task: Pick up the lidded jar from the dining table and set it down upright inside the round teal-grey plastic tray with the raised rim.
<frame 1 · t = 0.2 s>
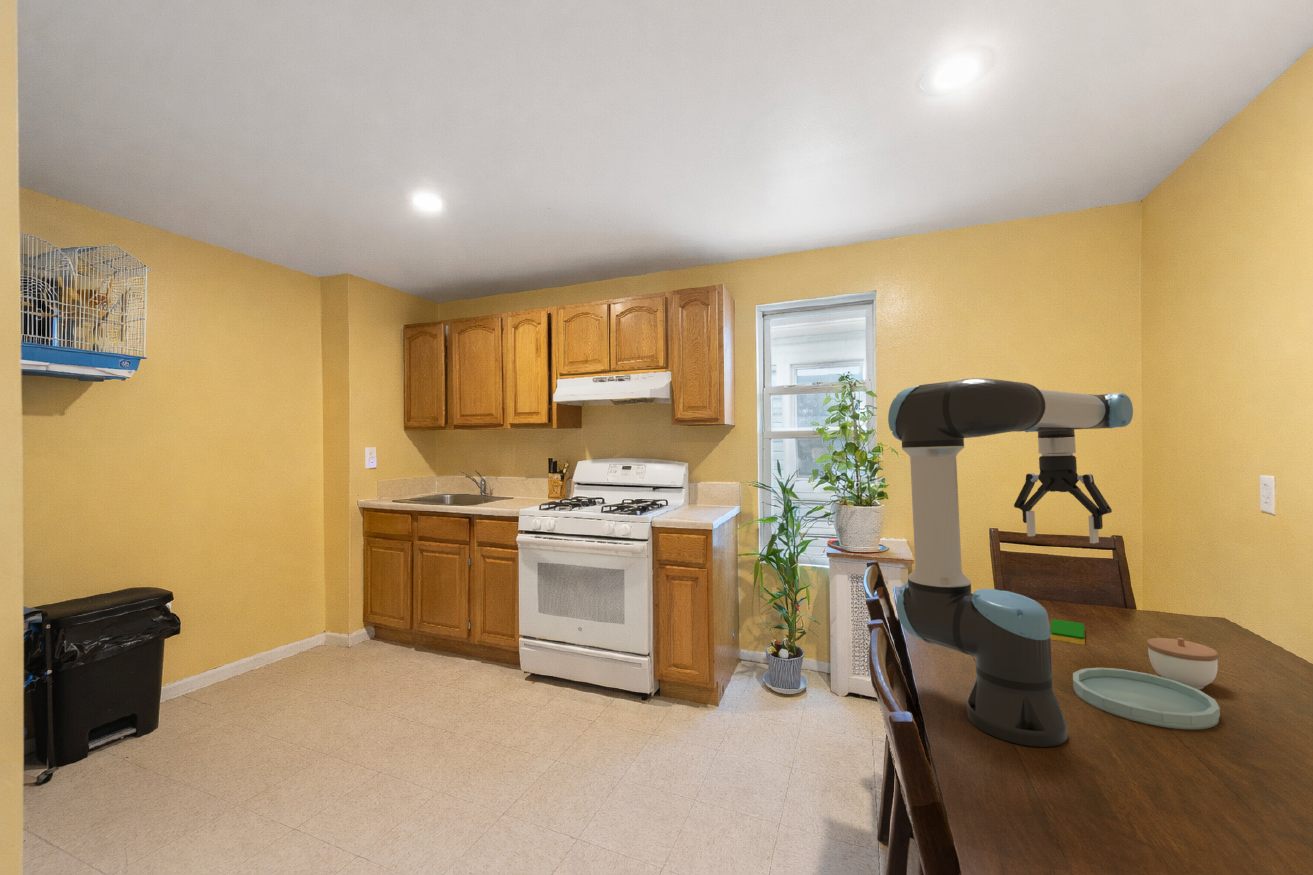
hand: (1061, 539, 132), 28 cm above the table, tool pointing down, fingers open, 13 cm apart
round tray: (1141, 701, 104), on the table
lidded jar: (1183, 684, 112), on the table
dish sponge: (1067, 637, 142), on the table
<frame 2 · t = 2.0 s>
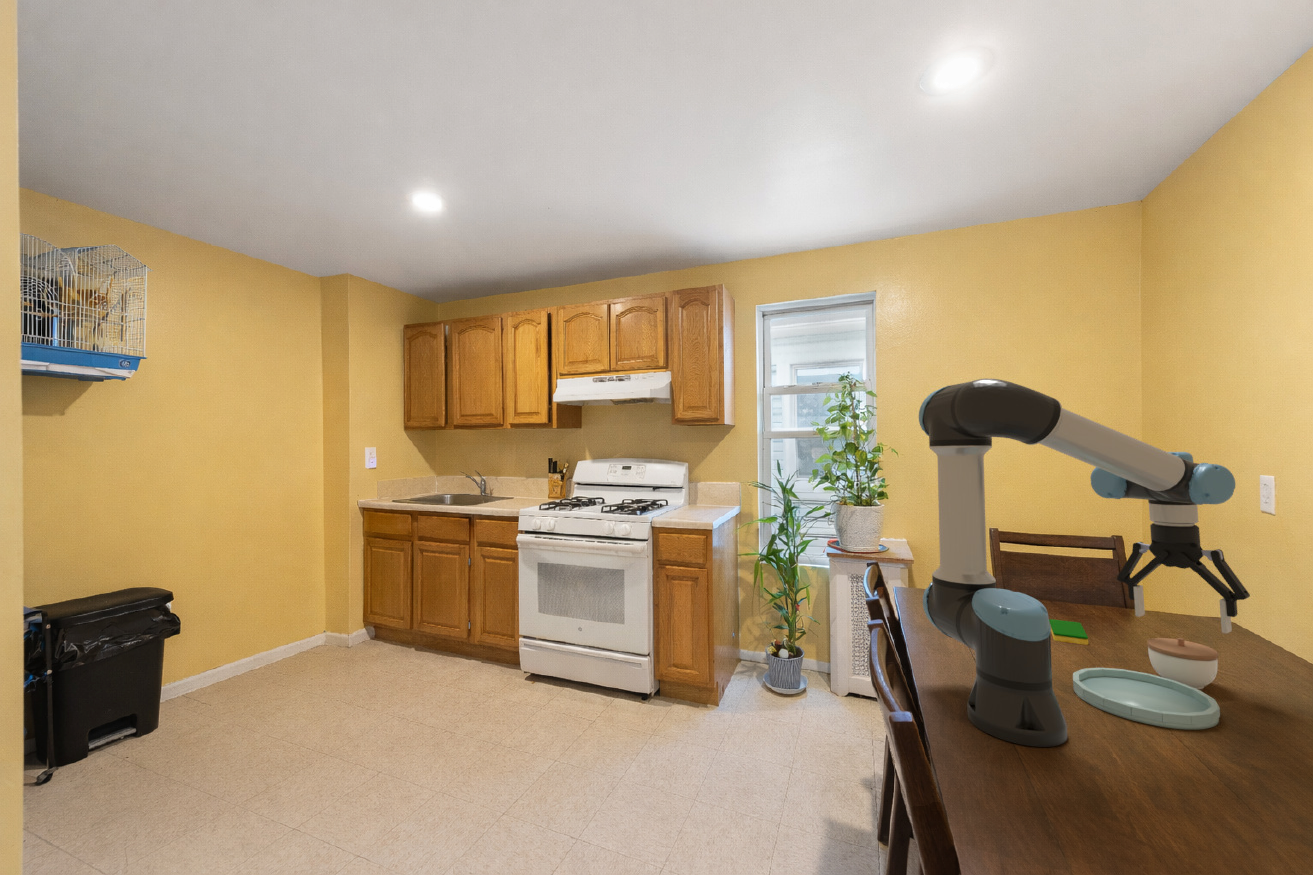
hand: (1181, 623, 112), 13 cm above the table, tool pointing down, fingers open, 13 cm apart
nothing on the table moved.
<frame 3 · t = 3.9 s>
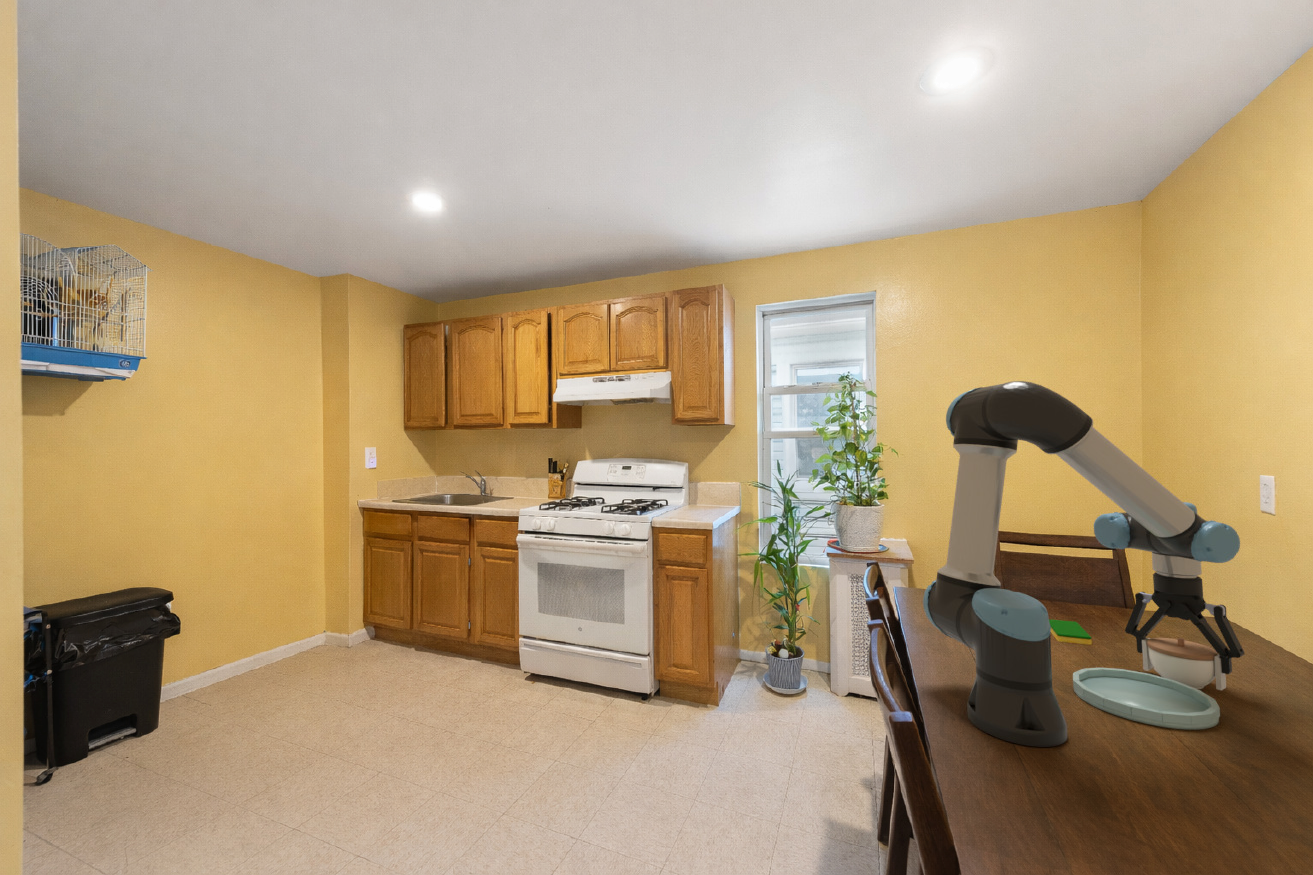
hand: (1183, 678, 112), 1 cm above the table, tool pointing down, fingers closed on lidded jar, 11 cm apart
lidded jar: (1183, 683, 112), on the table, touching gripper
everything else where it was.
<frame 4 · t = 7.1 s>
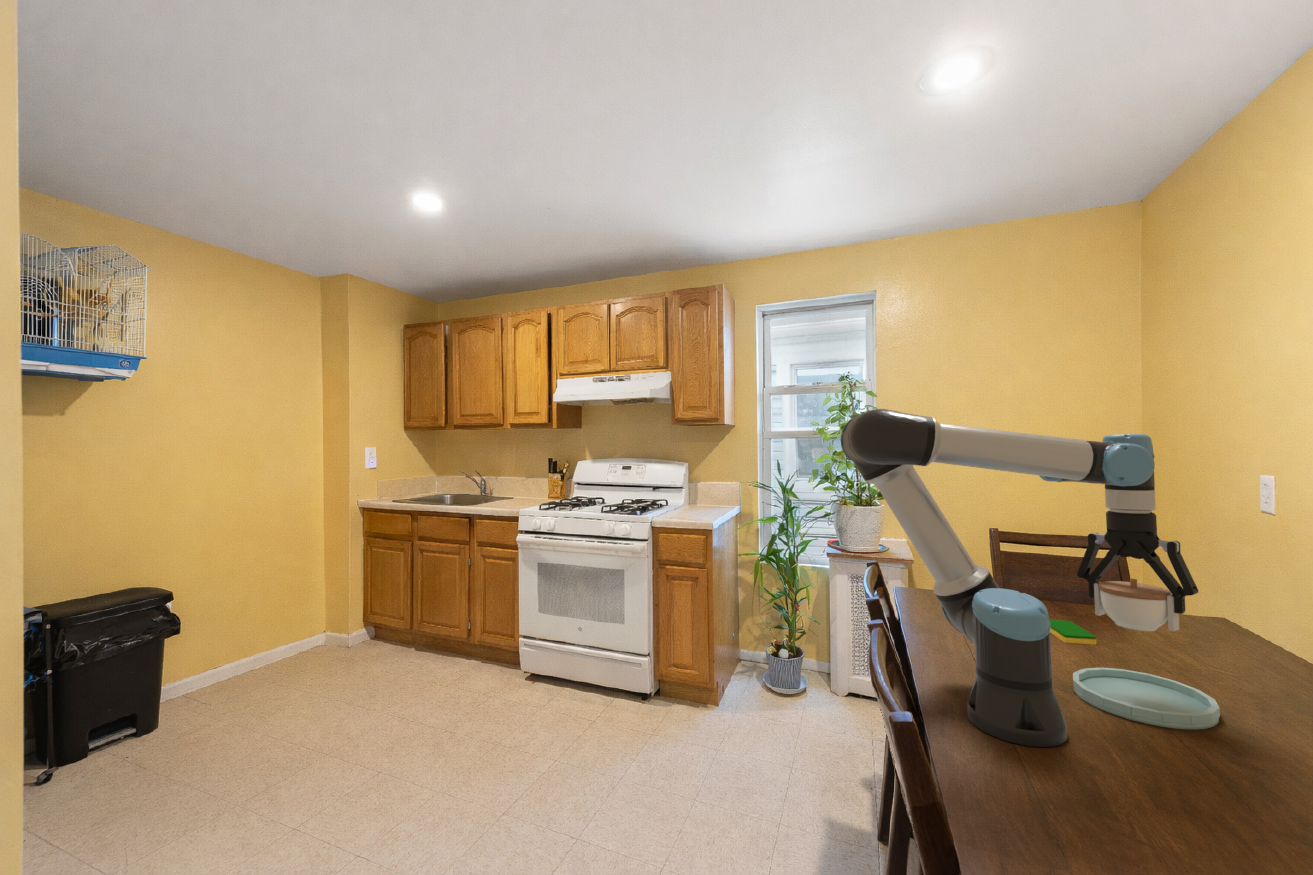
hand: (1135, 621, 105), 16 cm above the table, tool pointing down, fingers closed on lidded jar, 11 cm apart
lidded jar: (1135, 627, 105), point 15 cm above the table, touching gripper
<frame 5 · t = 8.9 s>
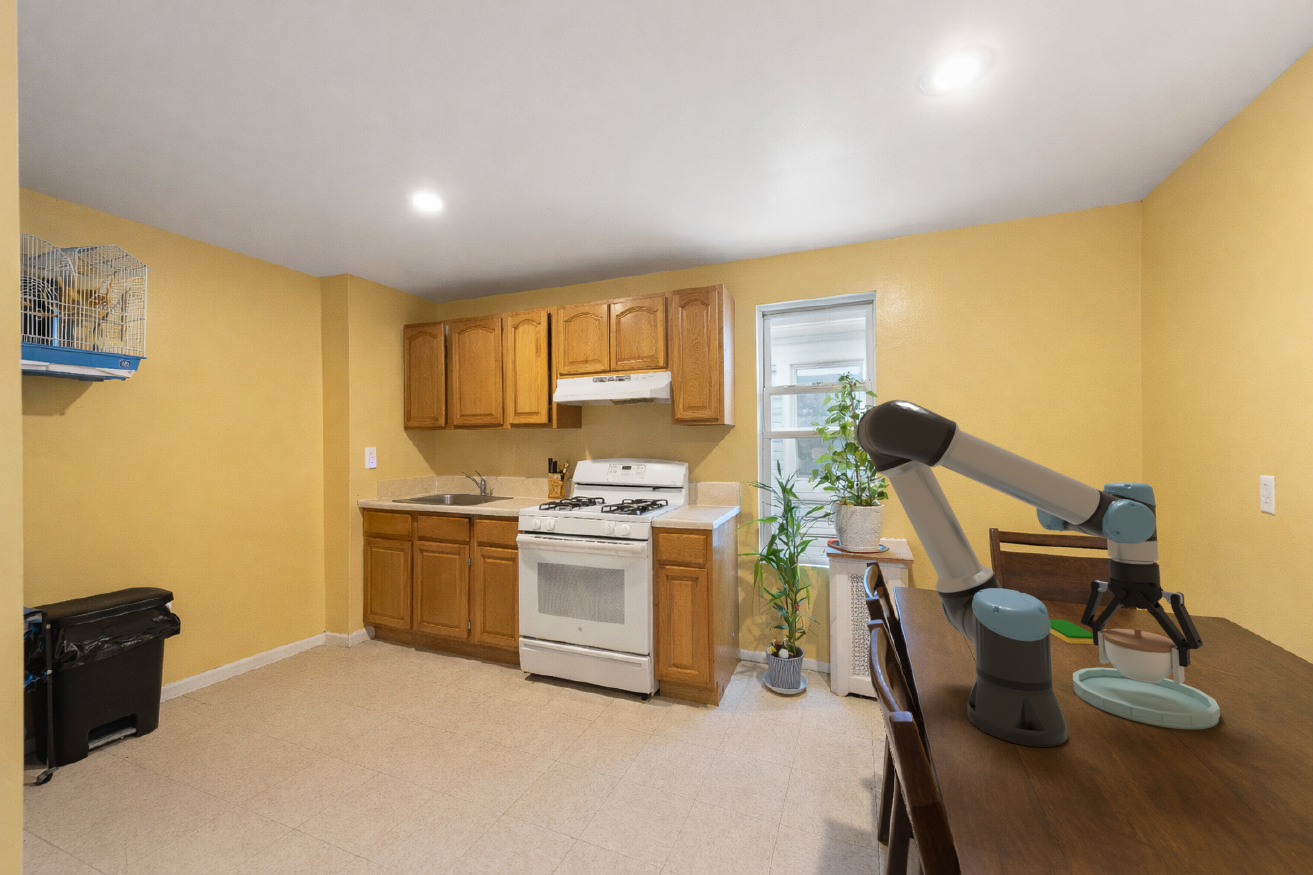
hand: (1140, 671, 104), 6 cm above the table, tool pointing down, fingers closed on lidded jar, 11 cm apart
lidded jar: (1140, 677, 104), point 5 cm above the table, touching gripper
when the fingers open (3 cm above the table, at t = 10.4 s): lidded jar drops 1 cm, resting on round tray.
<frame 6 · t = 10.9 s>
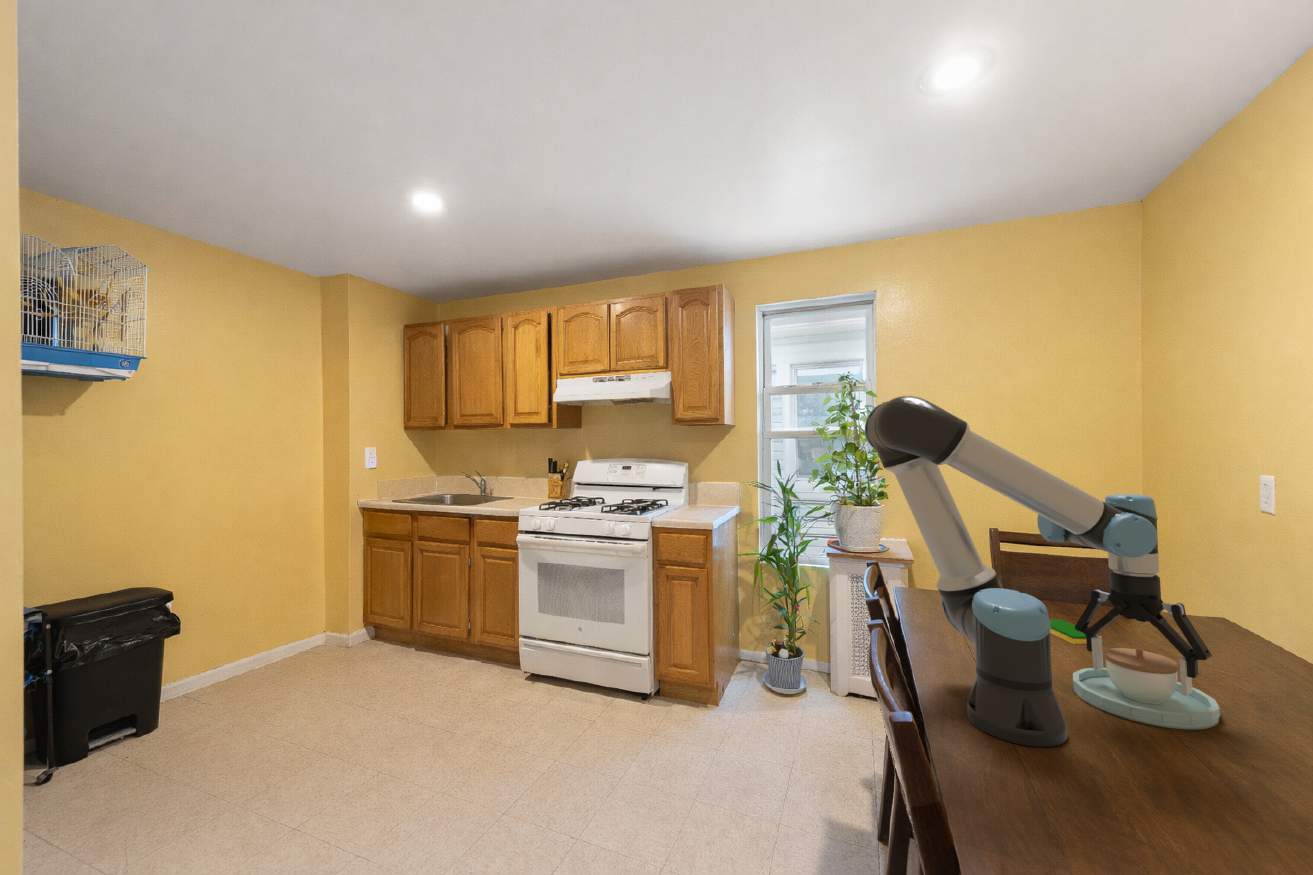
hand: (1140, 680, 104), 4 cm above the table, tool pointing down, fingers open, 13 cm apart
lidded jar: (1142, 698, 104), point 1 cm above the table, touching round tray
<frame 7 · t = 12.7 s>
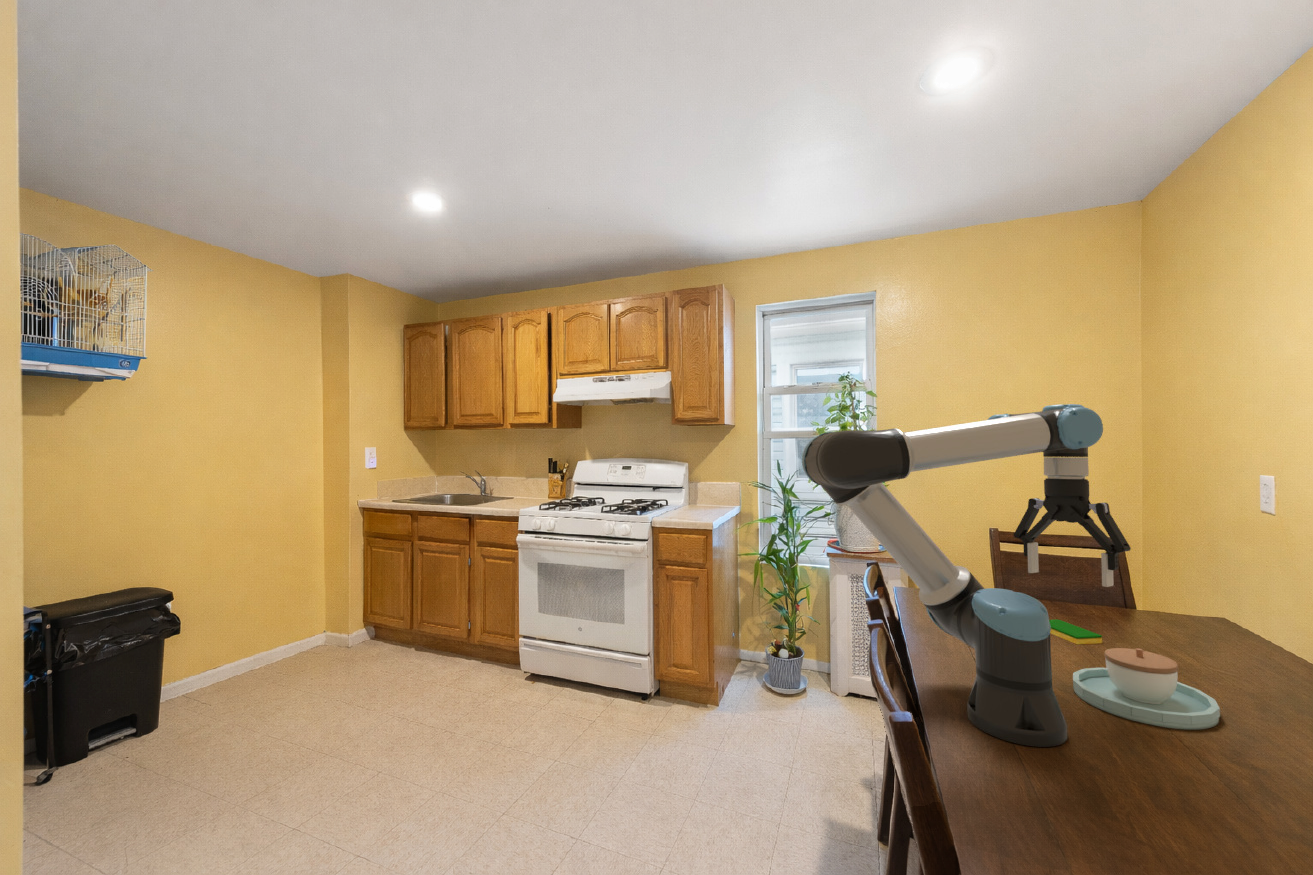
hand: (1068, 578, 110), 23 cm above the table, tool pointing down, fingers open, 13 cm apart
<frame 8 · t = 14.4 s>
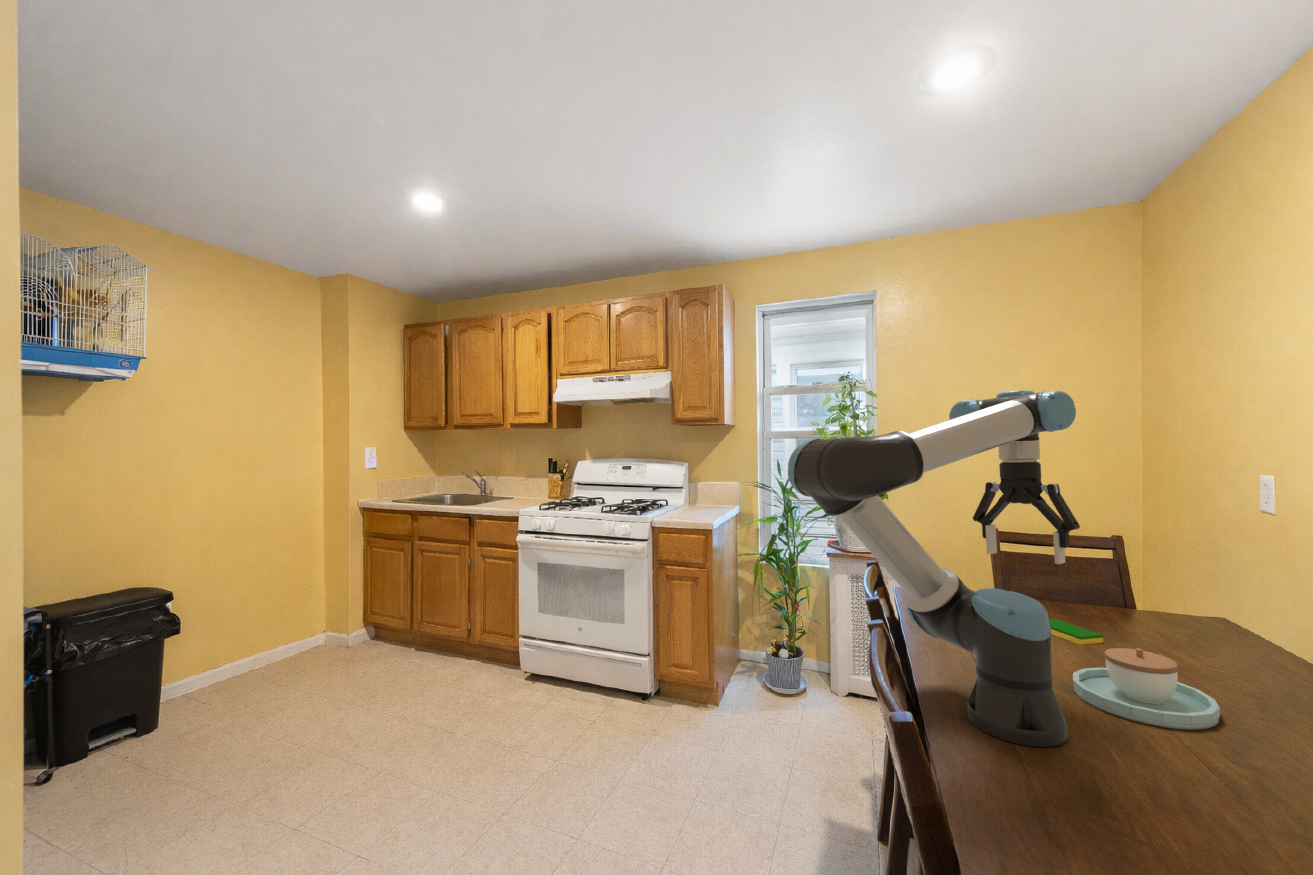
hand: (1024, 558, 115), 27 cm above the table, tool pointing down, fingers open, 13 cm apart
at the end: lidded jar inside the target area on the round tray (0.2 cm from its centre), point 0.8 cm above the round tray's base; lidded jar tilted 0°; the gripper is holding nothing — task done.
